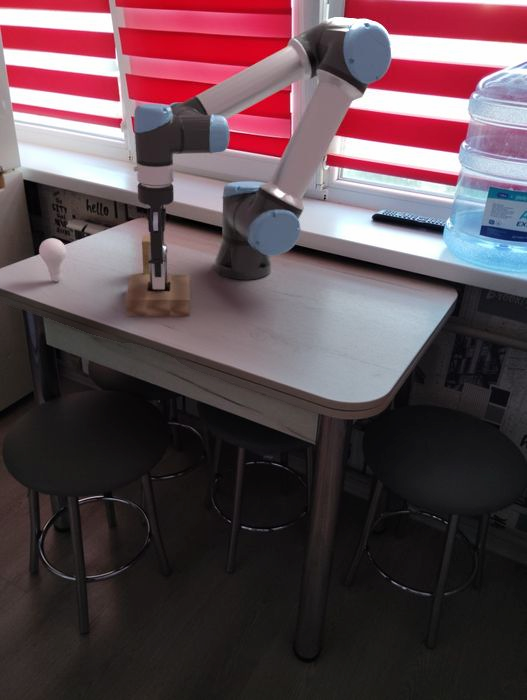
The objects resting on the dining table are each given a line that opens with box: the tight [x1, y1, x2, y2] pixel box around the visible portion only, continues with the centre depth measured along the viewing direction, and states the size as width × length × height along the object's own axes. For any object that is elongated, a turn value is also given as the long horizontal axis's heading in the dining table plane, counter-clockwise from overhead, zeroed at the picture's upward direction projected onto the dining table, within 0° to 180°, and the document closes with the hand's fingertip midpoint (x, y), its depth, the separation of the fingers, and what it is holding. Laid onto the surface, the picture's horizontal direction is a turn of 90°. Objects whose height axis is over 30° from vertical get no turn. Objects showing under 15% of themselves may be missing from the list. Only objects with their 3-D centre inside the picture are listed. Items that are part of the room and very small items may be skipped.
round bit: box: [148, 242, 168, 291], centre depth 136 cm, size 4×4×12 cm
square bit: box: [141, 235, 151, 274], centre depth 150 cm, size 4×4×10 cm
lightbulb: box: [38, 237, 67, 283], centre depth 144 cm, size 6×6×11 cm
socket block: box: [125, 273, 191, 317], centre depth 139 cm, size 14×14×4 cm
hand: (159, 284), depth 137 cm, fingers closed on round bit, 4 cm apart
